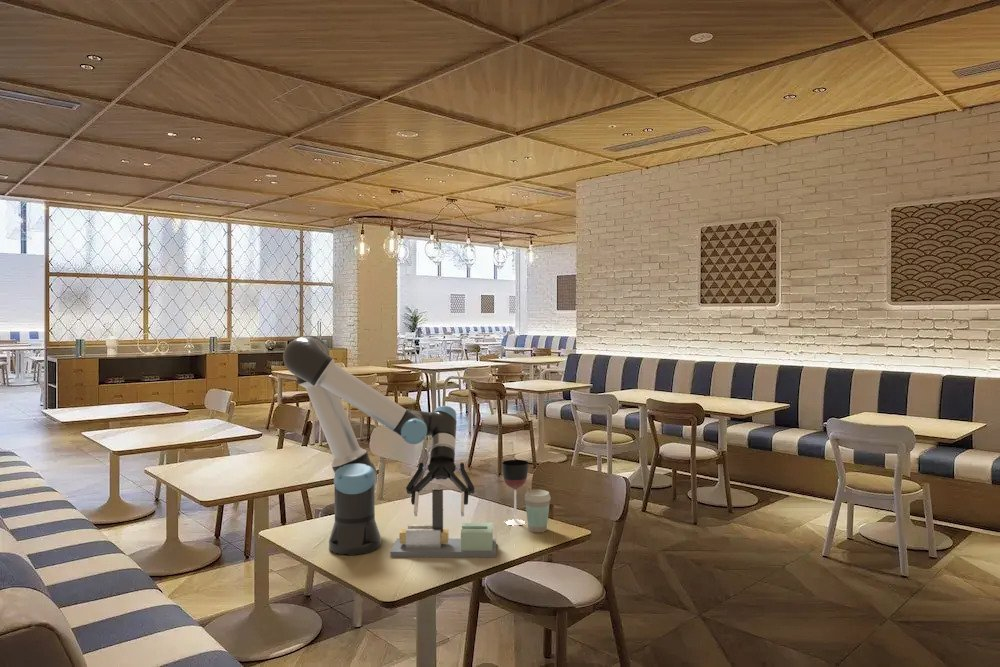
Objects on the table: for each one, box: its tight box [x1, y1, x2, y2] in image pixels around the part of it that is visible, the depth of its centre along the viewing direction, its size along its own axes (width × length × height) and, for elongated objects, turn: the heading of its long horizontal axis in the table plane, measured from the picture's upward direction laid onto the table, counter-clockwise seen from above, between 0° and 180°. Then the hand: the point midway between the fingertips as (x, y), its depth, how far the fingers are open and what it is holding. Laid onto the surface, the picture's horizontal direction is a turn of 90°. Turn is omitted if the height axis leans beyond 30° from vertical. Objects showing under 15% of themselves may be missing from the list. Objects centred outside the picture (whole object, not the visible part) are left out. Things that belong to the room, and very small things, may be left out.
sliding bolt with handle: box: [399, 489, 450, 544], centre depth 195 cm, size 14×3×15 cm, turn 90°
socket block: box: [460, 522, 494, 551], centre depth 195 cm, size 9×9×5 cm
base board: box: [389, 537, 497, 558], centre depth 195 cm, size 30×11×2 cm, turn 90°
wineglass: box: [501, 459, 529, 527], centre depth 220 cm, size 8×9×20 cm
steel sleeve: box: [405, 524, 442, 548], centre depth 195 cm, size 10×5×5 cm, turn 90°
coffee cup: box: [523, 489, 552, 533], centre depth 213 cm, size 9×8×12 cm
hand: (438, 514), depth 193 cm, fingers open, 13 cm apart
